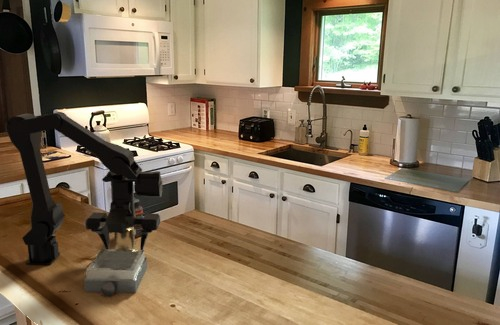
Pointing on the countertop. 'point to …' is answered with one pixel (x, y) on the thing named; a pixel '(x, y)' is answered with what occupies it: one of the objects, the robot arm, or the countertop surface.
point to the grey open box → (115, 271)
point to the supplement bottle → (139, 214)
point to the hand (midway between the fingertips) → (125, 250)
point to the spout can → (125, 240)
